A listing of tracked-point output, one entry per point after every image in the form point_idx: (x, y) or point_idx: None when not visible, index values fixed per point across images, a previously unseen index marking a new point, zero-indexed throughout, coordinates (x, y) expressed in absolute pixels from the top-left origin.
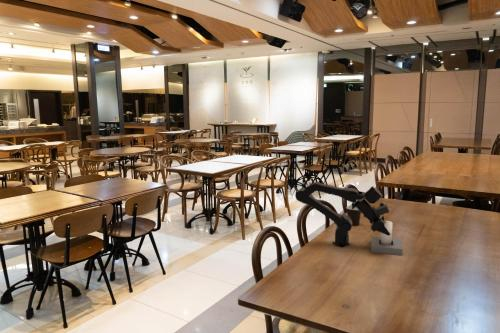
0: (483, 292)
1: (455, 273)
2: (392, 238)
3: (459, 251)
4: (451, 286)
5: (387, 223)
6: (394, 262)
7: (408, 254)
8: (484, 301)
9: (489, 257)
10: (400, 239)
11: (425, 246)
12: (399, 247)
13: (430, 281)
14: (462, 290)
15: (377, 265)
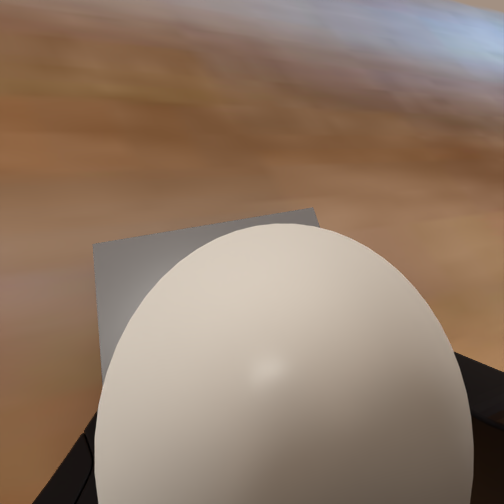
0: (437, 14)
1: (362, 50)
2: (106, 308)
3: (112, 6)
4: (462, 71)
5: (412, 349)
6: (410, 247)
7: (268, 197)
8: (482, 22)
9: None
10: (109, 242)
11: (93, 125)
12: None
13: (475, 118)
14: (464, 51)
15: (497, 316)
